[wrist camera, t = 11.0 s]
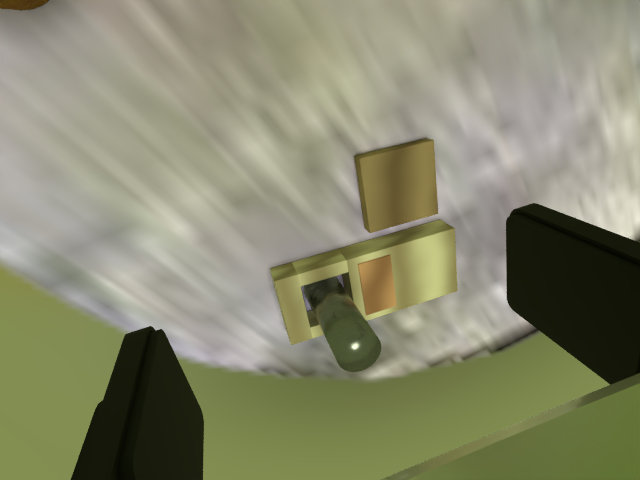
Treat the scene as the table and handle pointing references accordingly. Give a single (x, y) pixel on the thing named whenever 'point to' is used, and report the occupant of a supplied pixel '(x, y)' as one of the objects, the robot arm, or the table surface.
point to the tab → (397, 184)
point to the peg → (343, 325)
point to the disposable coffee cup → (21, 4)
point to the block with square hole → (372, 275)
